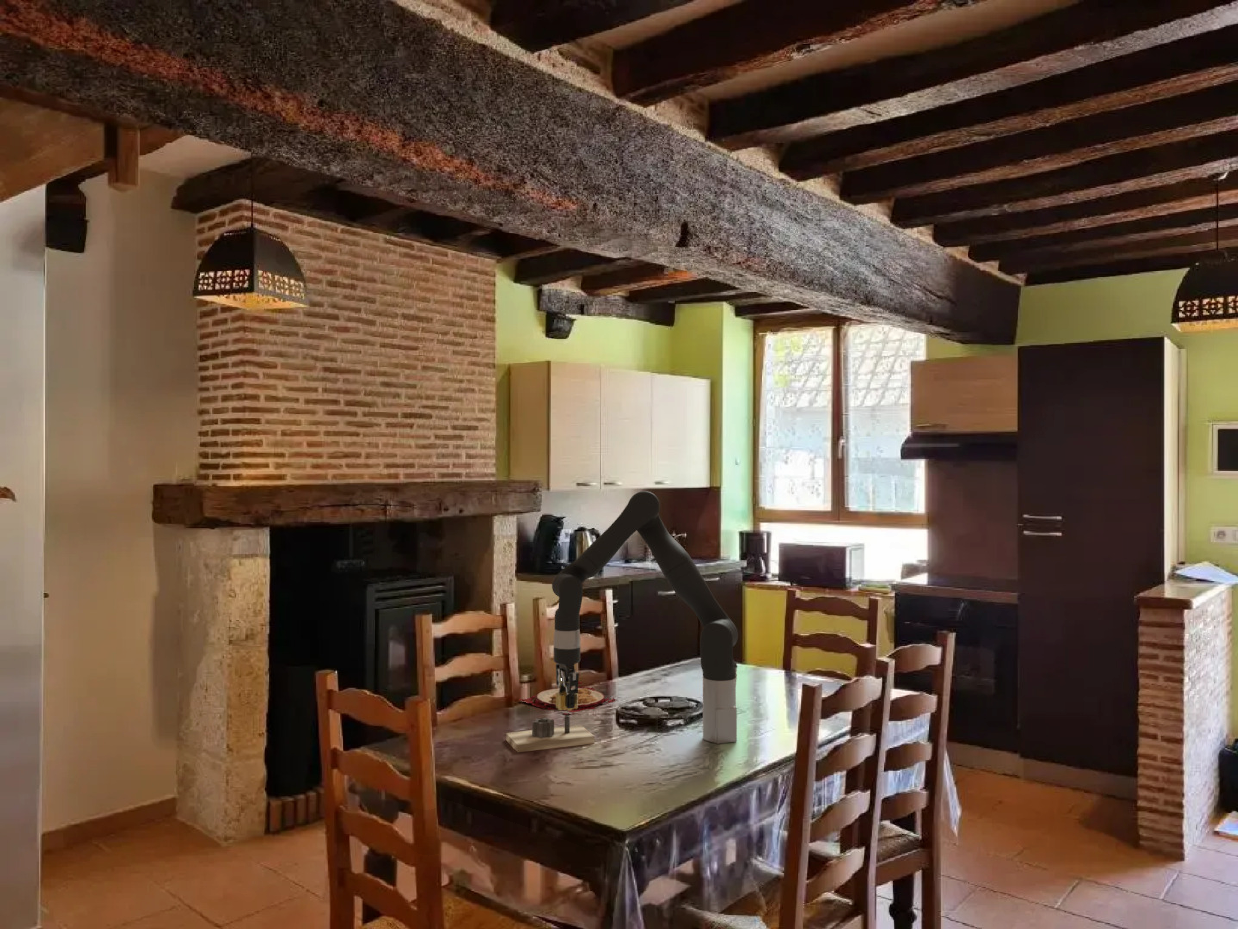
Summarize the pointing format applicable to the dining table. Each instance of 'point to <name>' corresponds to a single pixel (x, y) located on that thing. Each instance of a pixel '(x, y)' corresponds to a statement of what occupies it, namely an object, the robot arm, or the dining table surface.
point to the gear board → (549, 736)
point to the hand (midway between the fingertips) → (566, 704)
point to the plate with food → (585, 699)
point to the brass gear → (564, 701)
